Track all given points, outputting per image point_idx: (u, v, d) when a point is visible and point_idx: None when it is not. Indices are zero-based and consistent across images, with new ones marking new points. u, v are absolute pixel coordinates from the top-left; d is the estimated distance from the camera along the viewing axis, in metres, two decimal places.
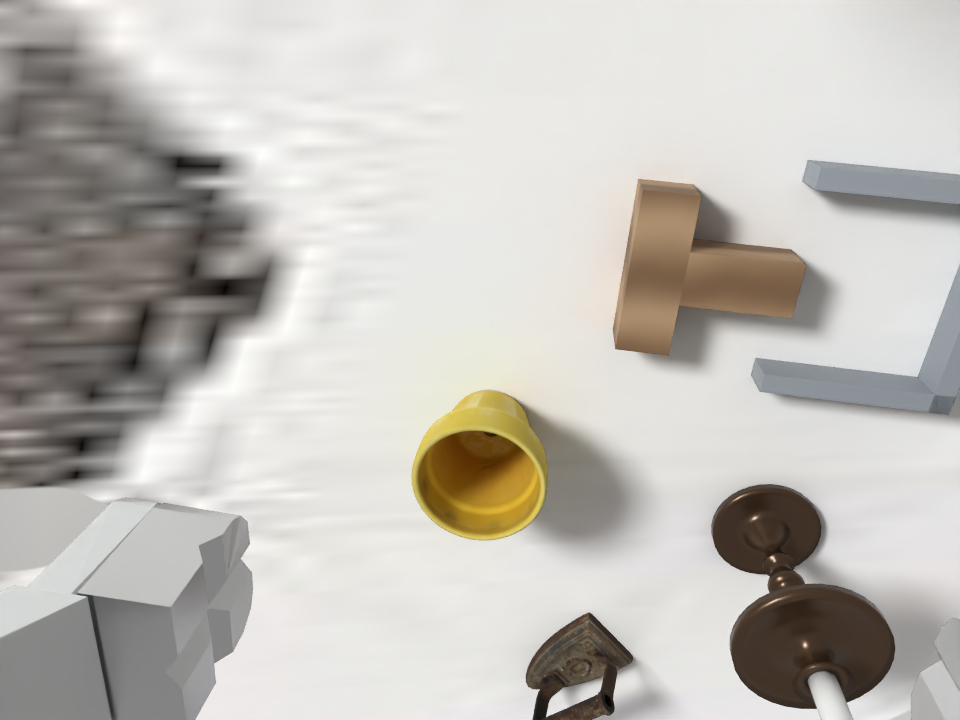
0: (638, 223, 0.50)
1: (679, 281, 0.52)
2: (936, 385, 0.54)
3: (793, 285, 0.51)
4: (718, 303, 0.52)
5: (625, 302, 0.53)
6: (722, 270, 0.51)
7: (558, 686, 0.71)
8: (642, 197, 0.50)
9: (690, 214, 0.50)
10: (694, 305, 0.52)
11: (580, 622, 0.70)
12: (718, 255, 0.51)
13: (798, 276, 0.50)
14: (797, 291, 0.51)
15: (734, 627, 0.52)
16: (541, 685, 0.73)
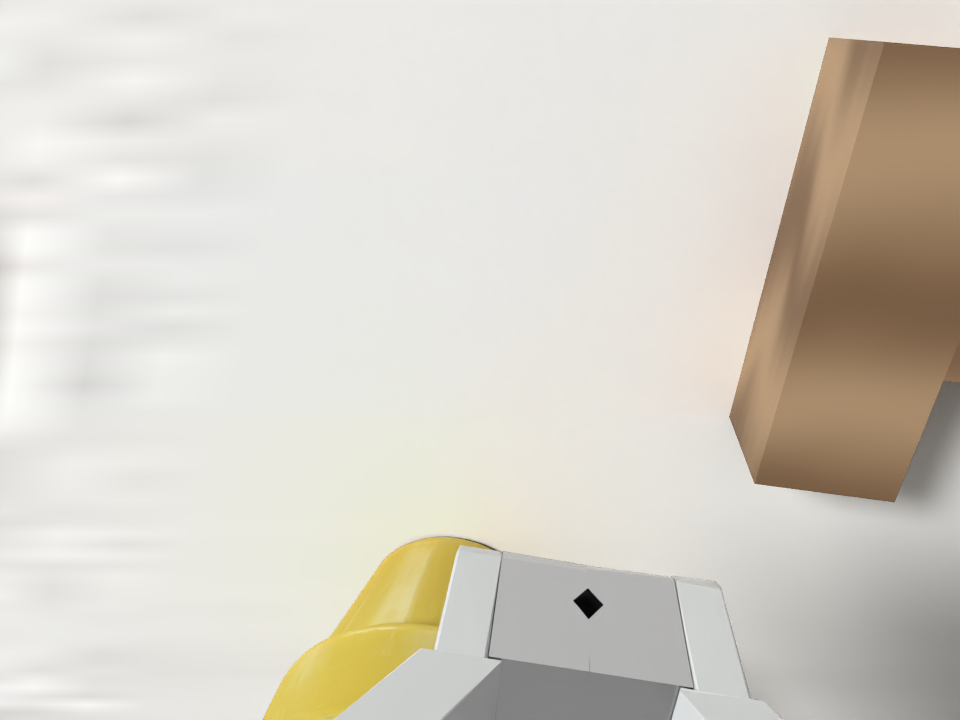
0: (857, 149, 0.17)
1: (955, 316, 0.18)
2: None
3: None
4: None
5: (793, 371, 0.20)
6: None
7: None
8: (880, 67, 0.16)
9: None
10: None
11: None
12: None
13: None
14: None
15: None
16: None
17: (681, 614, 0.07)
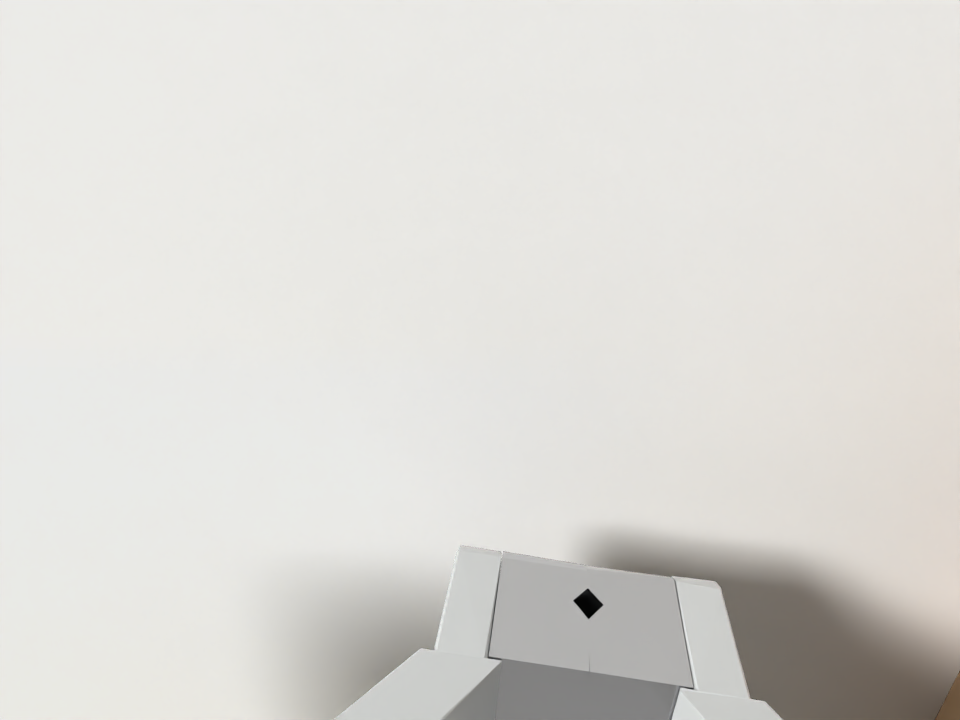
0: None
1: None
2: None
3: None
4: None
5: None
6: None
7: None
8: None
9: None
10: None
11: None
12: None
13: None
14: None
15: None
16: None
17: (681, 614, 0.07)
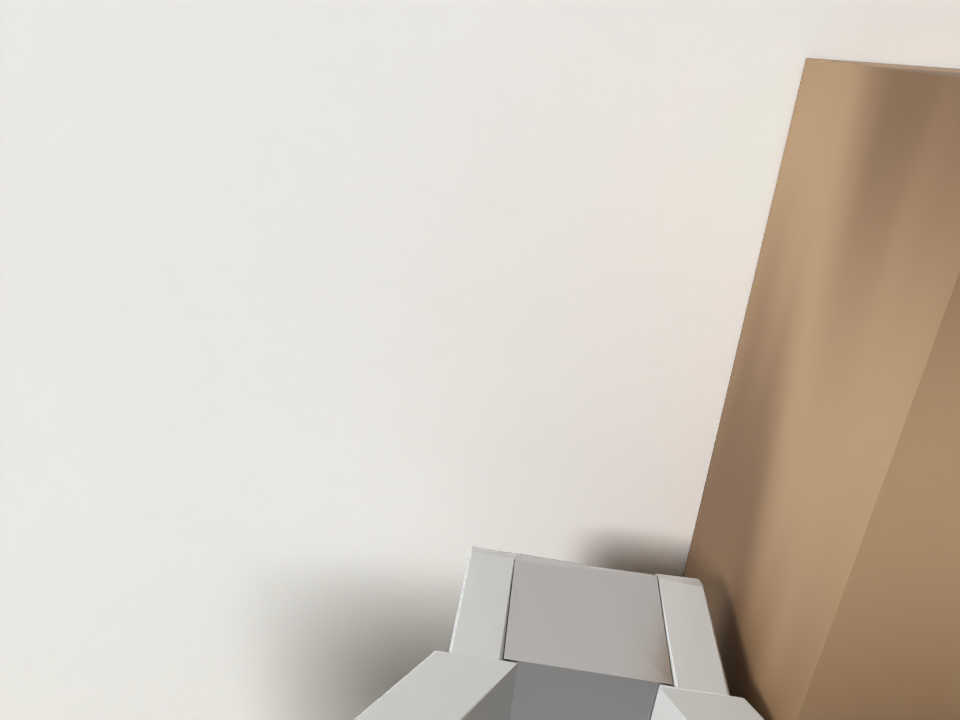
0: (906, 466, 0.05)
1: None
2: None
3: None
4: None
5: None
6: None
7: None
8: None
9: None
10: None
11: None
12: None
13: None
14: None
15: None
16: None
17: (663, 612, 0.07)
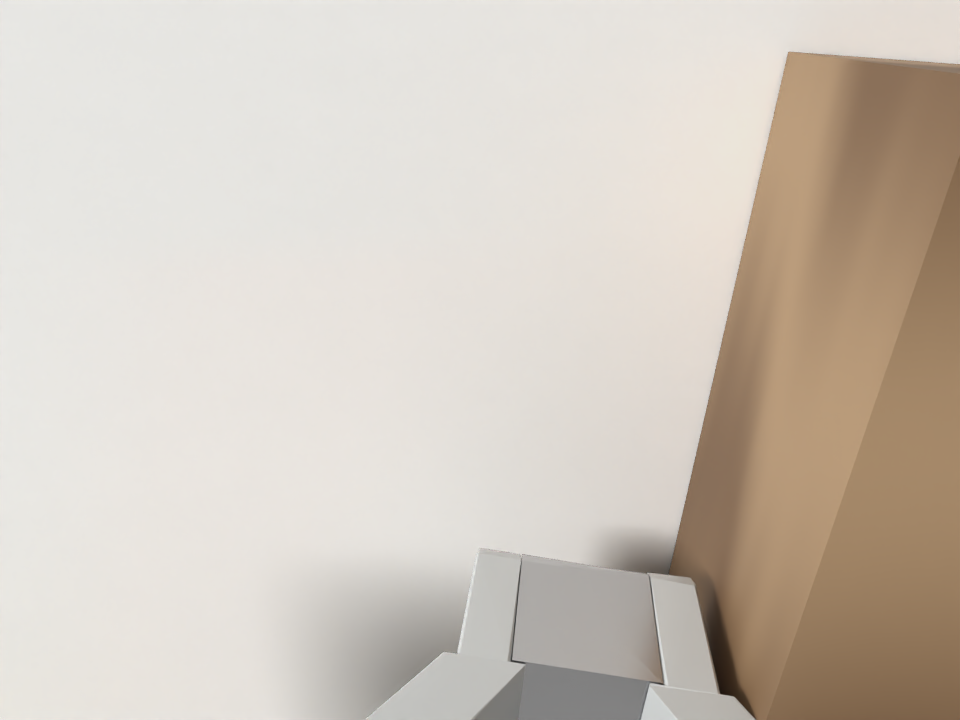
0: (875, 451, 0.05)
1: None
2: None
3: None
4: None
5: None
6: None
7: None
8: None
9: None
10: None
11: None
12: None
13: None
14: None
15: None
16: None
17: (654, 610, 0.07)
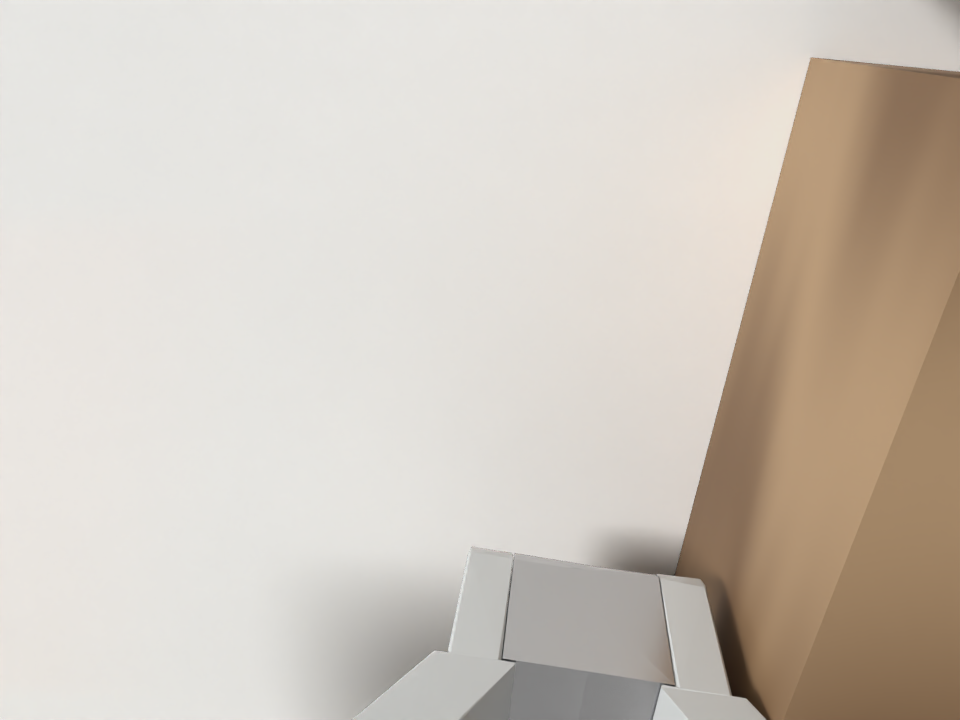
0: (902, 459, 0.05)
1: None
2: None
3: None
4: None
5: None
6: None
7: None
8: None
9: None
10: None
11: None
12: None
13: None
14: None
15: None
16: None
17: (665, 612, 0.07)
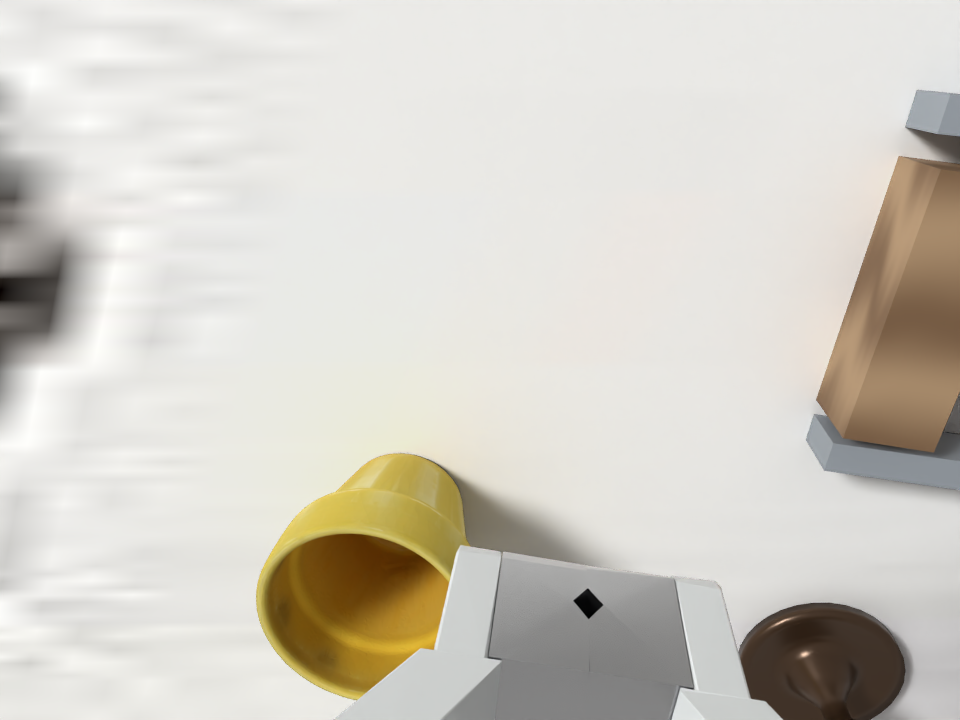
0: (921, 229, 0.29)
1: None
2: None
3: None
4: None
5: (873, 363, 0.31)
6: None
7: None
8: (937, 183, 0.28)
9: None
10: None
11: None
12: None
13: None
14: None
15: None
16: None
17: (681, 614, 0.07)
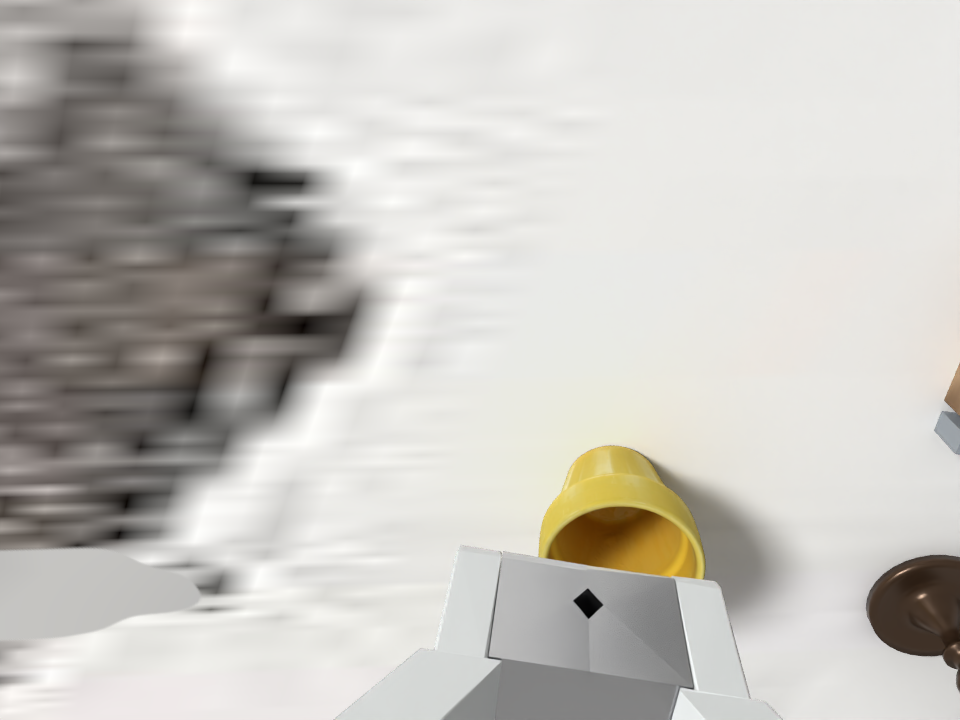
0: None
1: None
2: None
3: None
4: None
5: None
6: None
7: None
8: None
9: None
10: None
11: None
12: None
13: None
14: None
15: None
16: None
17: (681, 614, 0.07)
